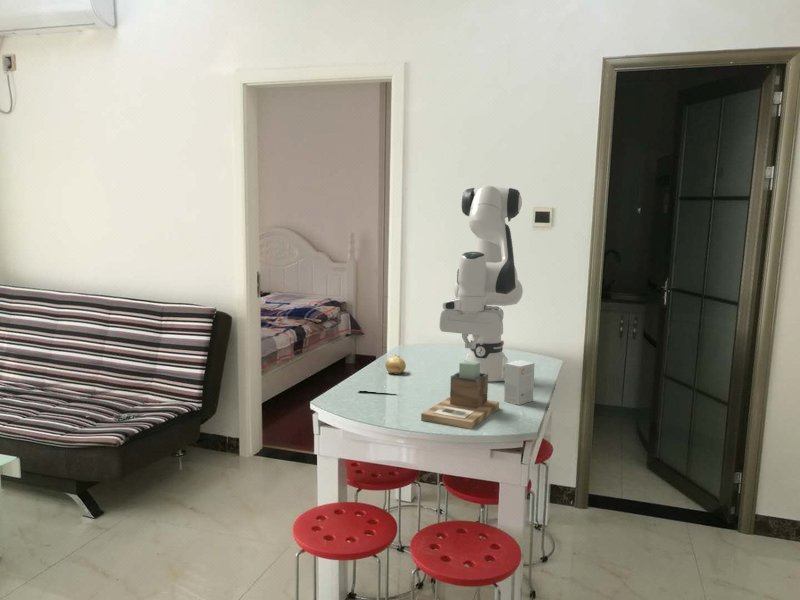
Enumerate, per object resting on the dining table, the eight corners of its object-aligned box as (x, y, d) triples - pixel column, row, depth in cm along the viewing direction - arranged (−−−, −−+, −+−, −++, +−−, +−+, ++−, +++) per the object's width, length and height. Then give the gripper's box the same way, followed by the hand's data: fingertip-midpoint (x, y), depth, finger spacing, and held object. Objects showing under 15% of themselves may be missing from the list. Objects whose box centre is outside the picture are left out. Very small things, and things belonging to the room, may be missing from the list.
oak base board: (452, 400, 211) (453, 368, 210) (499, 408, 204) (500, 374, 203) (421, 420, 190) (421, 384, 189) (471, 428, 183) (472, 391, 182)
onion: (408, 374, 247) (408, 356, 246) (389, 376, 245) (389, 357, 244) (401, 370, 255) (401, 352, 254) (382, 371, 252) (382, 353, 251)
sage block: (465, 375, 205) (465, 360, 204) (479, 377, 202) (480, 362, 202) (459, 378, 200) (459, 363, 200) (474, 380, 198) (474, 365, 197)
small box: (518, 397, 217) (519, 359, 216) (533, 401, 213) (535, 362, 211) (503, 401, 212) (504, 362, 210) (519, 405, 207) (520, 366, 206)
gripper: (507, 305, 196) (505, 350, 198) (446, 301, 206) (444, 343, 207) (500, 307, 191) (498, 353, 192) (437, 303, 200) (436, 346, 202)
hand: (470, 348), depth 200 cm, fingers closed
